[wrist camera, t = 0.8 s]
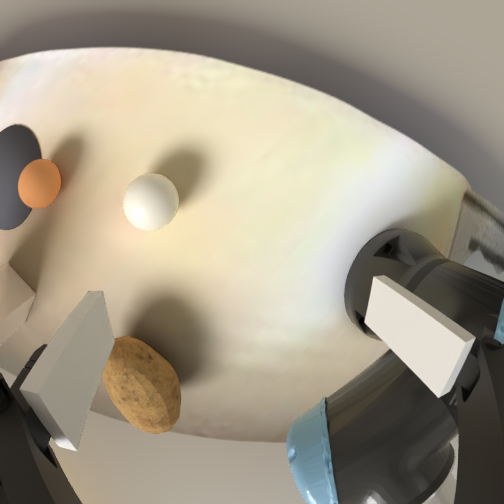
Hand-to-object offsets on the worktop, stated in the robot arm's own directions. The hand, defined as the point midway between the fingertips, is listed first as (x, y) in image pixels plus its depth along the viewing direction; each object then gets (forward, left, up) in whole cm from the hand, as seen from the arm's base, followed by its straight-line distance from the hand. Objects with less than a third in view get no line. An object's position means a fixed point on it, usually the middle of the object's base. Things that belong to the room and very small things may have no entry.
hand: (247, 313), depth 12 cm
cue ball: (+8, -3, -15) cm, 17 cm away
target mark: (+31, -3, -18) cm, 36 cm away
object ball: (+22, -3, -15) cm, 27 cm away
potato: (+7, +18, -18) cm, 27 cm away
